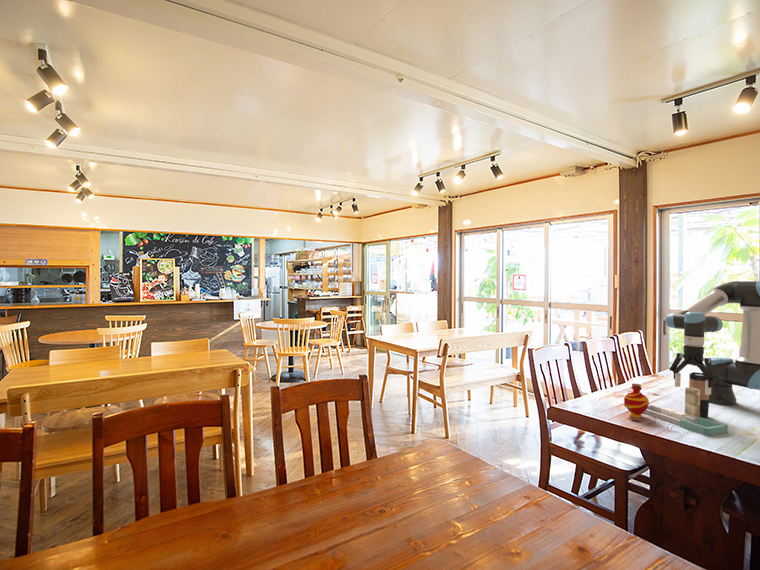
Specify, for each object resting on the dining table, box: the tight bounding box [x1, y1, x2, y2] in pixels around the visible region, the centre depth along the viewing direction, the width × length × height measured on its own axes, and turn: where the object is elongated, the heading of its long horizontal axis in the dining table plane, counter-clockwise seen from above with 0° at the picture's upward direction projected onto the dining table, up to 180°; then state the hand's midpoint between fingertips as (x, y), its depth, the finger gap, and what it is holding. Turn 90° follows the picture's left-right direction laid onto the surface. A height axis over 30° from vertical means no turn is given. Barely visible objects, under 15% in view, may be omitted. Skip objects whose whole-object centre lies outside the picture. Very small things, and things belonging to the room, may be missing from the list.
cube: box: [672, 410, 687, 421], centre depth 184 cm, size 4×4×4 cm
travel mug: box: [688, 371, 710, 419], centre depth 192 cm, size 8×8×20 cm
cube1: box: [661, 407, 677, 417], centre depth 189 cm, size 4×4×4 cm
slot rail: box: [643, 403, 697, 426], centre depth 190 cm, size 10×22×2 cm, turn 18°
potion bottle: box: [623, 383, 650, 419], centre depth 191 cm, size 10×10×15 cm
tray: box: [679, 417, 729, 437], centre depth 174 cm, size 12×12×3 cm
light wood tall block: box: [684, 387, 700, 421], centre depth 188 cm, size 4×4×14 cm
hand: (692, 390), depth 188 cm, fingers open, 13 cm apart
